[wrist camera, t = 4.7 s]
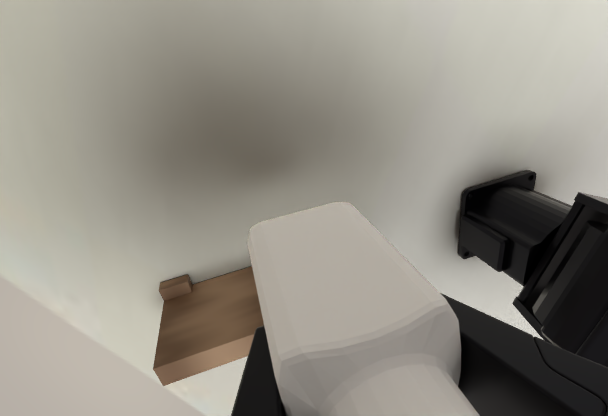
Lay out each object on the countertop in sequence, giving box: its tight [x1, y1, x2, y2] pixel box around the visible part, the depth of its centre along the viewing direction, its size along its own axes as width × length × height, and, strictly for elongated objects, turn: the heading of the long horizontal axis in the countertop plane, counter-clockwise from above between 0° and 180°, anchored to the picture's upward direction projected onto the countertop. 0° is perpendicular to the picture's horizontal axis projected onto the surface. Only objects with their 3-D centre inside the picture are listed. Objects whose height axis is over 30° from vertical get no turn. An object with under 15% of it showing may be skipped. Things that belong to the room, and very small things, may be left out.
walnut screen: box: [153, 266, 264, 386], centre depth 20 cm, size 14×3×6 cm, turn 100°
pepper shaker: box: [247, 202, 480, 416], centre depth 8 cm, size 4×4×10 cm
